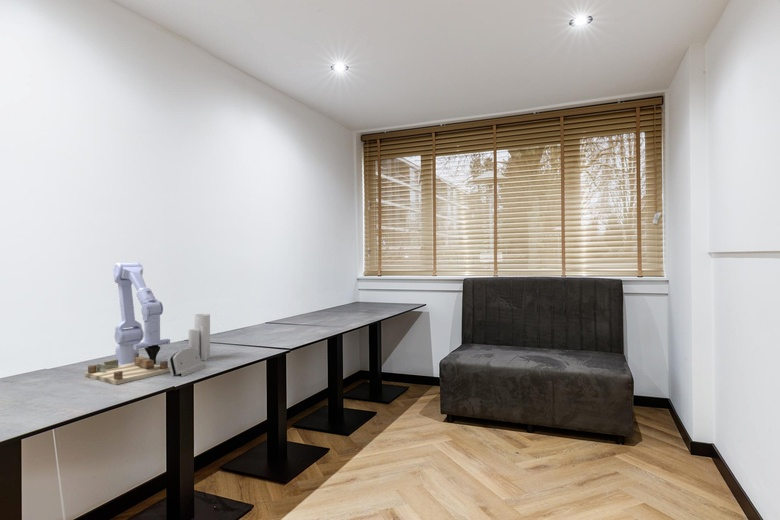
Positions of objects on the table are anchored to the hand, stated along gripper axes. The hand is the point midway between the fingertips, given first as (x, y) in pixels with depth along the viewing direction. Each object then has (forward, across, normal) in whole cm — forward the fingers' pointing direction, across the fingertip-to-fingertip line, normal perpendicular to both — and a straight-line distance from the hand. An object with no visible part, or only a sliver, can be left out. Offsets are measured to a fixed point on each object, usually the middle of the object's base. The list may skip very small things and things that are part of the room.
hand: (152, 364), depth 185 cm
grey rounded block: (+3, +7, -12) cm, 14 cm away
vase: (+3, +23, +1) cm, 23 cm away
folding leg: (+1, -2, +3) cm, 4 cm away
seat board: (+3, -8, +3) cm, 9 cm away
